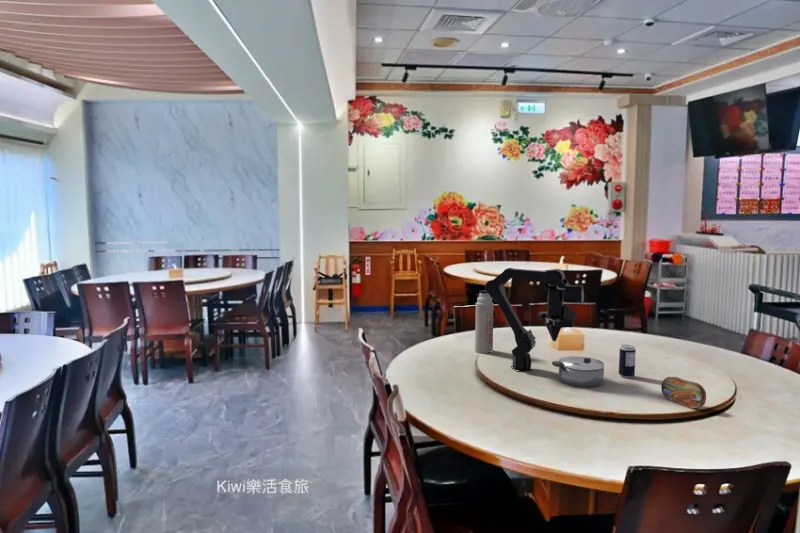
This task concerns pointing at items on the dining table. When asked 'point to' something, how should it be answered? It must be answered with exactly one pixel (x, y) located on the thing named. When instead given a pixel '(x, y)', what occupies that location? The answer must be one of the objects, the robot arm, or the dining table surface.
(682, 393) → the tin
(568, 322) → the robot arm
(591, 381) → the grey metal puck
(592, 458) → the dining table surface
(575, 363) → the cooker lid
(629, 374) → the beverage can
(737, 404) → the dining table surface
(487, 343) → the thermos bottle
